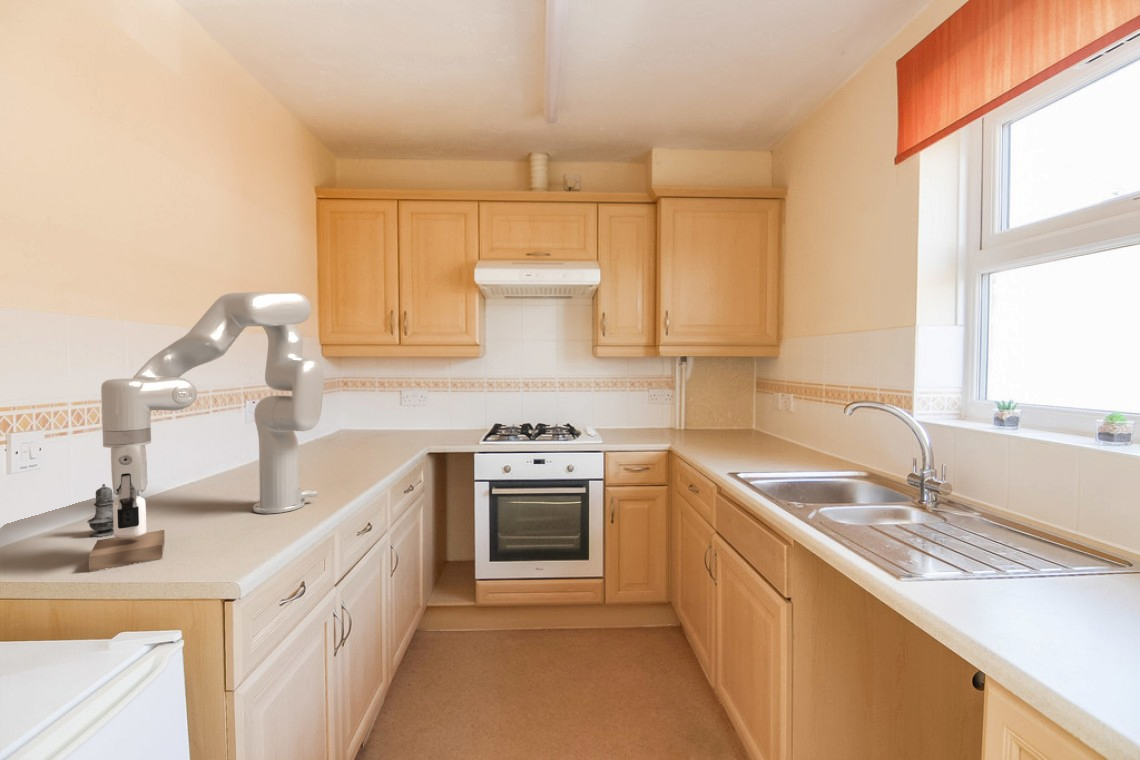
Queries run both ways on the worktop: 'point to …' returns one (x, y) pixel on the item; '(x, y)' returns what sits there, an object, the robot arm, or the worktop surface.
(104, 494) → the salt shaker
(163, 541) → the walnut stand
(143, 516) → the eye dropper bottle
